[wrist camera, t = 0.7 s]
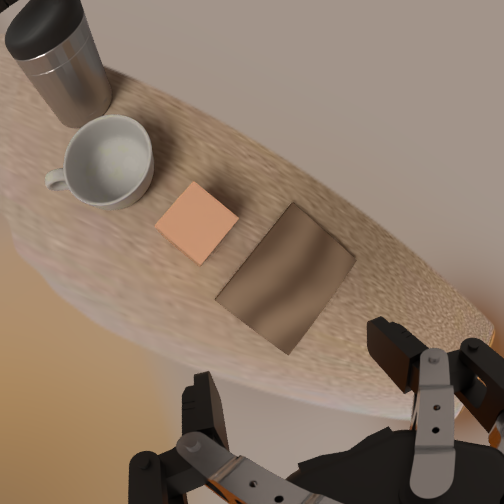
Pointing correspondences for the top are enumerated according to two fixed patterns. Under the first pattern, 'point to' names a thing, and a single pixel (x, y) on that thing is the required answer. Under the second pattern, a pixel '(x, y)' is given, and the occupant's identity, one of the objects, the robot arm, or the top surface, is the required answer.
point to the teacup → (106, 163)
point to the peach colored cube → (196, 223)
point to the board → (287, 279)
